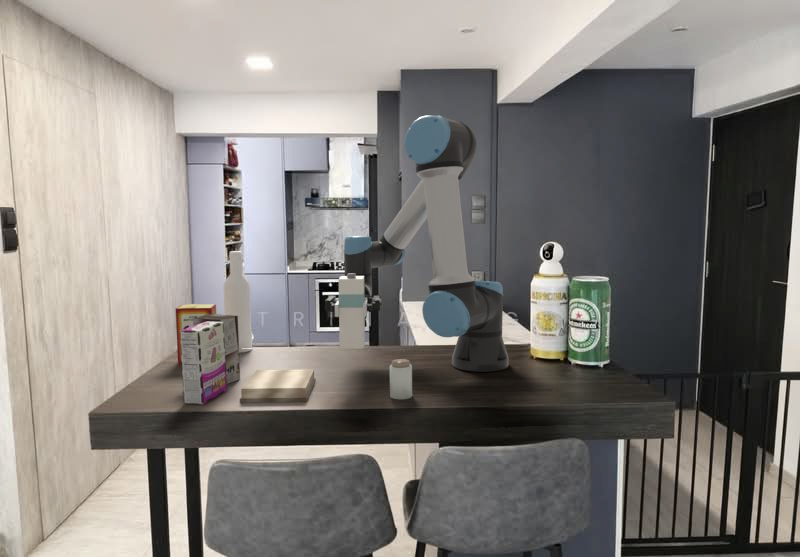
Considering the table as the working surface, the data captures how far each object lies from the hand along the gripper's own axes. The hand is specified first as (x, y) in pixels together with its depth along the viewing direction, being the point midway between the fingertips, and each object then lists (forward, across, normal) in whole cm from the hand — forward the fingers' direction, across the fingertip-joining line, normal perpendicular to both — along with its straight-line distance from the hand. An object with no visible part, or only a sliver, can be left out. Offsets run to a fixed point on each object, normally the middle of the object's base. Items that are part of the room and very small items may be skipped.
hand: (350, 310), depth 136 cm
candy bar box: (+1, +33, -20) cm, 38 cm away
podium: (-3, +17, -19) cm, 26 cm away
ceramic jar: (+2, -11, -19) cm, 22 cm away
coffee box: (-13, +34, -20) cm, 41 cm away
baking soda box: (-33, +45, -20) cm, 59 cm away
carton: (-5, 0, -9) cm, 10 cm away
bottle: (-47, +37, -20) cm, 63 cm away
